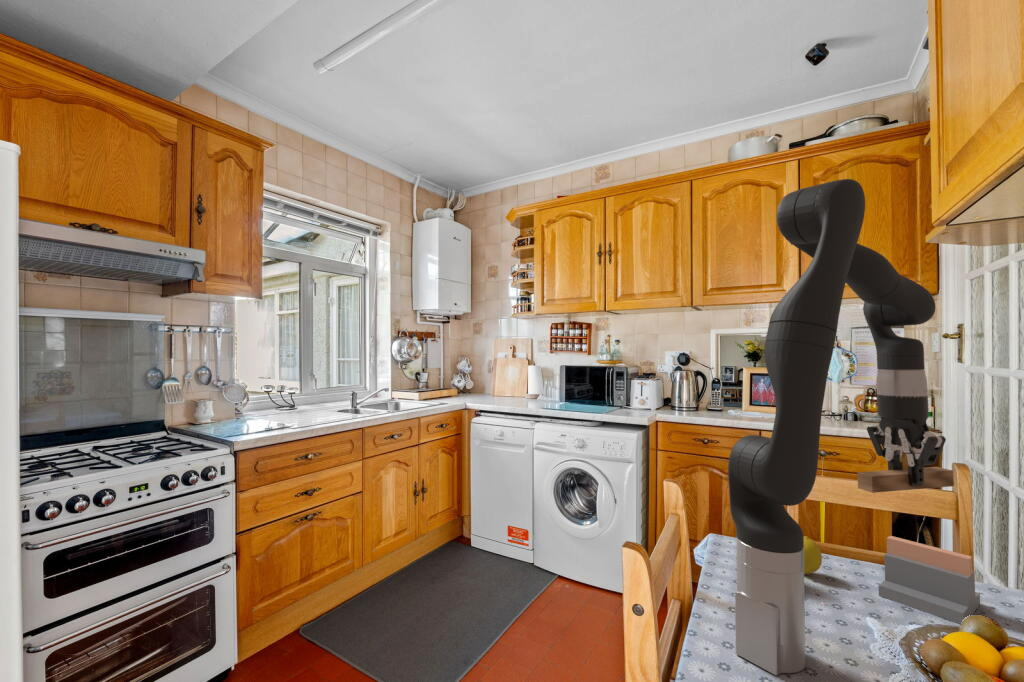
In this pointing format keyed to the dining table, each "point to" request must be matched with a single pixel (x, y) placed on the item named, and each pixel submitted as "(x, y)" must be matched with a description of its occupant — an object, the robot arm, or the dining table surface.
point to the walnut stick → (903, 479)
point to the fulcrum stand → (929, 579)
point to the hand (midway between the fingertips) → (905, 482)
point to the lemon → (811, 556)
